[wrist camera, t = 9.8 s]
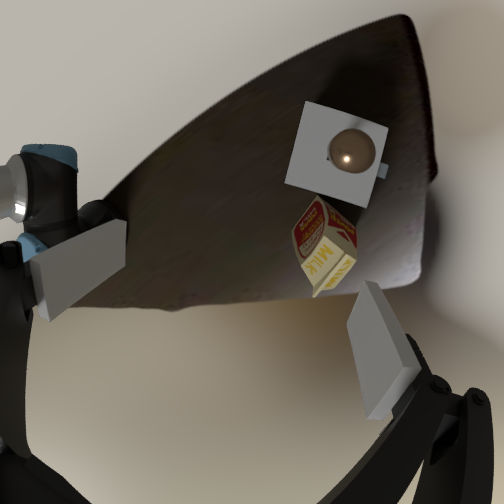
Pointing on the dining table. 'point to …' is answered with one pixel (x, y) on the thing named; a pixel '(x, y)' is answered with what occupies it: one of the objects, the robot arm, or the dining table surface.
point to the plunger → (351, 151)
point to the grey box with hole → (315, 155)
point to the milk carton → (324, 245)
